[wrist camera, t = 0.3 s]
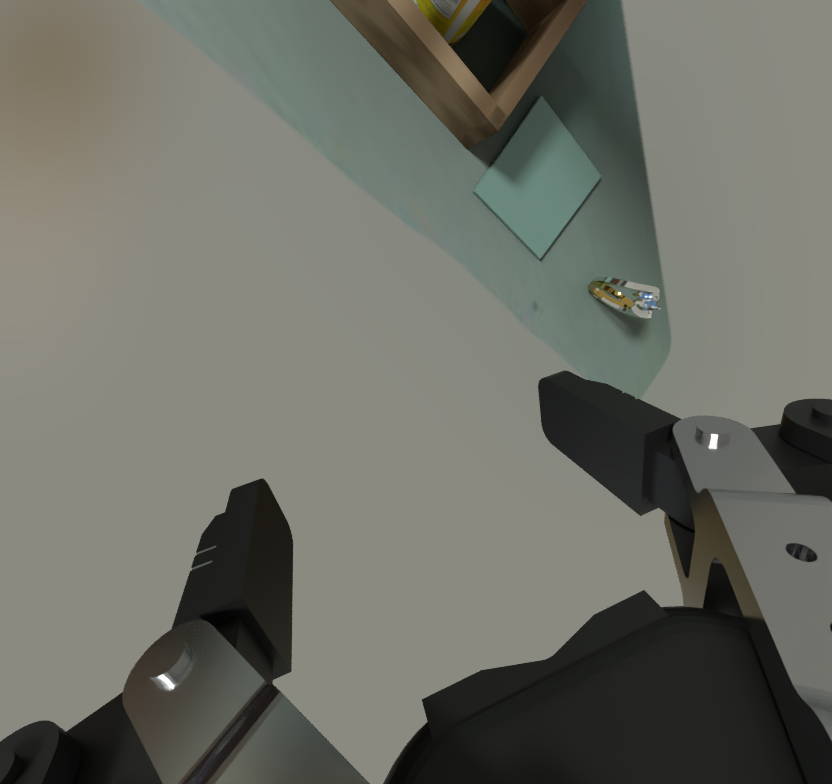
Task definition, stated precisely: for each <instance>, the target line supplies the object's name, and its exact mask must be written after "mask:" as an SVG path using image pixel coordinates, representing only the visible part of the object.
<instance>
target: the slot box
mask: <svg viewBox="0 0 832 784" xmlns="http://www.w3.org/2000/svg"><path fill="white" fill-rule="evenodd" d="M330 1H331V2H332V3H333V4H334V5H335V6H336V7H337V8H338V9H339V10H340V12H341V13H342V14H343V15H344V16H345V17H346V18H347V19H348V20H349V21H350V22H351V23H352V25H353V26H354V27H355V28H356V29H357V30H358V31H359V32H360V33H361V34H362V35H363V37H364V38H365V39H366V40H367V41H368V42H369V43H370V44H371V45H372V46H373V47H374V49H375V50H376V51H377V52H378V53H379V54H380V55H381V56H382V57H383V58H384V59H385V60H386V62H387V63H388V64H389V65H390V66H391V67H392V68H393V69H394V70H395V71H396V72H397V74H398V75H399V76H400V77H401V78H402V79H403V80H404V81H405V82H406V83H407V84H408V85H409V87H410V88H411V89H412V90H413V91H414V92H415V93H416V94H417V95H418V96H419V97H420V99H421V100H422V101H423V102H424V103H425V104H426V105H427V106H428V107H429V108H430V109H431V111H432V112H433V113H434V114H435V115H436V116H437V117H438V118H439V119H440V120H441V121H442V122H443V124H444V125H445V126H446V127H447V128H448V129H449V130H450V131H451V132H452V133H453V134H454V136H455V137H456V138H457V139H458V140H459V141H460V142H461V143H462V144H463V145H464V146H465V147H466V149H468V148H470V147H471V146H473V145H475V144H477V143H478V142H480V141H482V140H484V139H485V138H487V137H489V136H491V135H493V134H494V133H496V132H498V131H499V129H500V128H501V127H502V125H503V124H504V122H505V121H506V119H507V118H508V116H509V115H510V113H511V112H512V110H513V109H514V108H515V106H516V105H517V103H518V102H519V100H520V99H521V97H522V96H523V94H524V93H525V91H526V90H527V89H528V87H529V86H530V84H531V83H532V81H533V80H534V78H535V77H536V75H537V74H538V72H539V71H540V69H541V68H542V67H543V65H544V64H545V62H546V61H547V59H548V58H549V56H550V55H551V53H552V52H553V50H554V49H555V48H556V46H557V45H558V43H559V42H560V40H561V39H562V37H563V36H564V34H565V33H566V31H567V30H568V28H569V27H570V26H571V24H572V23H573V21H574V20H575V18H576V17H577V15H578V14H579V12H580V11H581V9H582V8H583V7H584V5H585V4H586V2H587V1H588V0H505V1H506V2H507V4H508V5H509V7H510V8H511V9H512V11H513V12H514V14H515V15H516V17H517V18H518V19H519V21H520V22H521V24H522V25H523V27H524V28H525V29H526V31H527V32H528V34H527V36H526V37H525V39H524V40H523V42H522V43H521V45H520V46H519V48H518V49H517V51H516V52H515V54H514V55H513V57H512V58H511V60H510V61H509V63H508V64H507V66H506V67H505V69H504V70H503V72H502V73H501V74H500V76H499V77H498V79H497V80H496V82H495V83H494V85H493V86H492V88H491V89H490V91H489V92H487V91H486V90H485V89H484V87H483V86H482V85H481V84H480V82H479V81H478V80H477V79H476V78H475V76H474V75H473V74H472V73H471V71H470V70H469V69H468V68H467V67H466V65H465V64H464V63H463V62H462V60H461V59H460V58H459V57H458V56H457V54H456V53H455V52H454V51H453V49H452V48H451V47H450V46H449V45H448V43H447V42H446V41H445V40H444V38H443V37H442V36H441V35H440V34H439V32H438V31H437V30H436V29H435V27H434V26H433V25H432V24H431V22H430V21H429V20H428V19H427V18H426V16H425V15H424V14H423V13H422V11H421V10H420V9H419V8H418V7H417V5H416V4H415V3H414V2H413V0H330Z"/></svg>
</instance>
